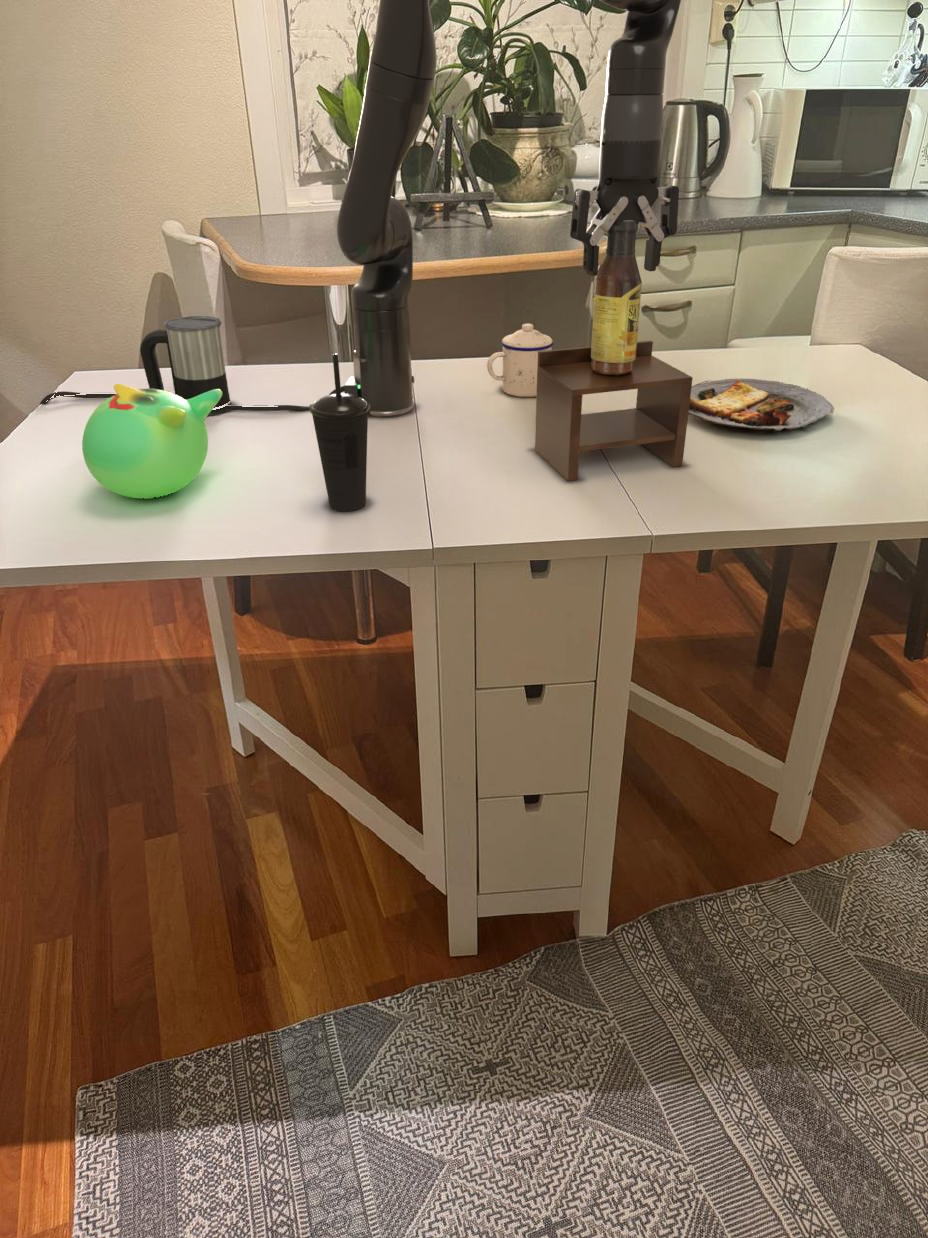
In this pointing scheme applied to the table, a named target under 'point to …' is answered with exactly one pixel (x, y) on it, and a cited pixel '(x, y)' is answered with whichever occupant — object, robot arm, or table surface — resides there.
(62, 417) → the table surface
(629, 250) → the sauce bottle
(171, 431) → the toy bird
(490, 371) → the teacup with lid
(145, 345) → the milk frother
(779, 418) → the food plate
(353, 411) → the drinking cup
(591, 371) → the shelf
